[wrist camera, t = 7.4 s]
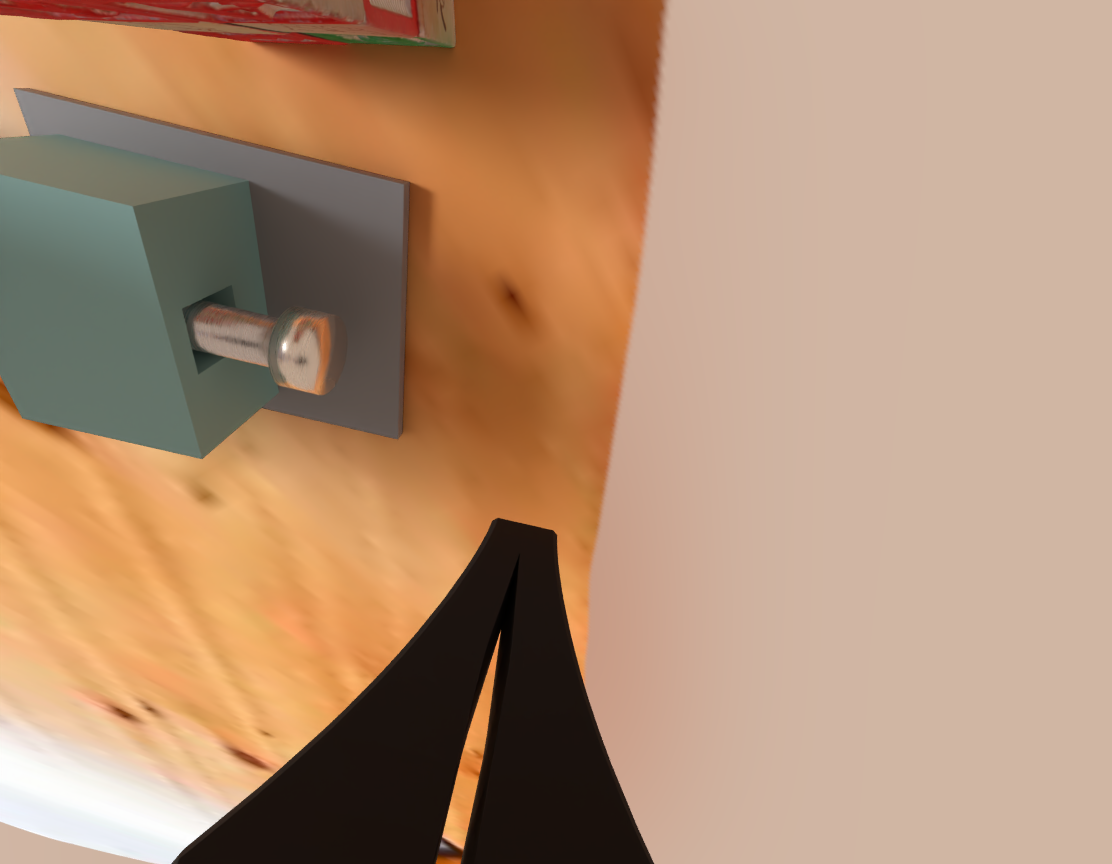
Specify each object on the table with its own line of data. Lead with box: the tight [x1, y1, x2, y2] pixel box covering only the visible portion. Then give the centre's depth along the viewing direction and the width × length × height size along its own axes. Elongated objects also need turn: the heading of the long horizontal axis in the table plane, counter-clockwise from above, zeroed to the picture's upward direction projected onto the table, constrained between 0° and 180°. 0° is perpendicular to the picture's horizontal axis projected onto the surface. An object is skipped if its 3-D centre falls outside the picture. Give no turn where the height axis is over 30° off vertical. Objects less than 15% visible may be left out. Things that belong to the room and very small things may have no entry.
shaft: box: [182, 300, 348, 395], centre depth 16 cm, size 11×3×3 cm, turn 78°
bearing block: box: [0, 88, 410, 459], centre depth 16 cm, size 12×10×5 cm
